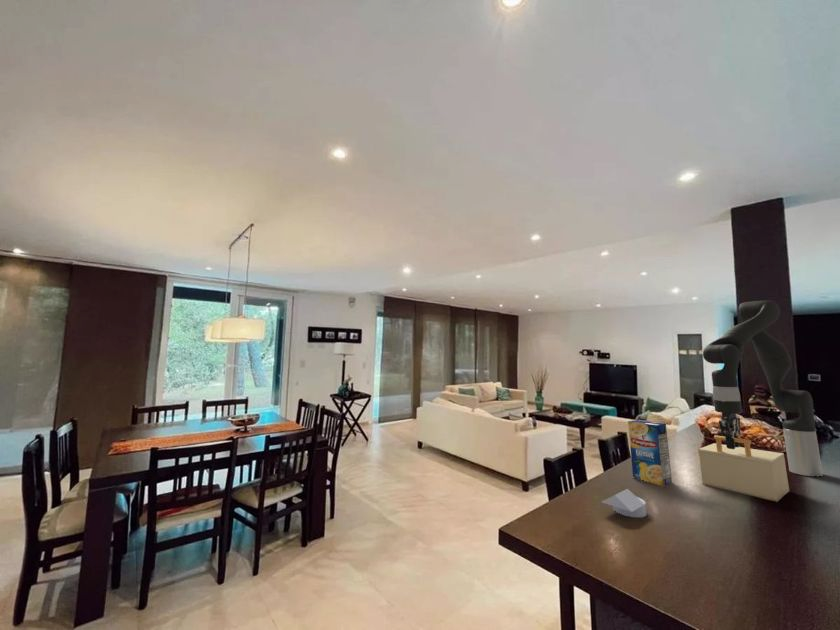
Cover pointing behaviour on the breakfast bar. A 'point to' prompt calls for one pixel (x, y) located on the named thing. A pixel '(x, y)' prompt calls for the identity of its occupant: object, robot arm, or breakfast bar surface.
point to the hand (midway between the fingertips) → (733, 447)
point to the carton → (745, 475)
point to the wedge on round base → (627, 504)
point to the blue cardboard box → (650, 451)
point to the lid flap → (741, 451)
